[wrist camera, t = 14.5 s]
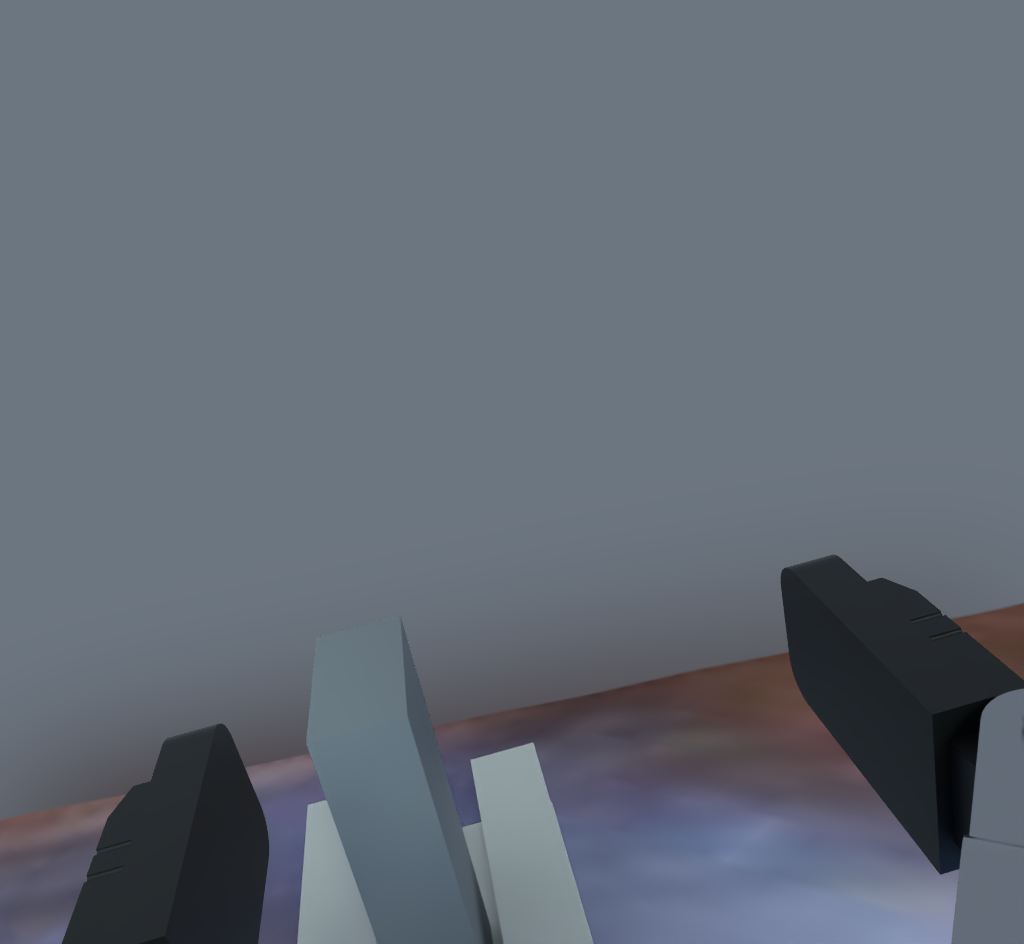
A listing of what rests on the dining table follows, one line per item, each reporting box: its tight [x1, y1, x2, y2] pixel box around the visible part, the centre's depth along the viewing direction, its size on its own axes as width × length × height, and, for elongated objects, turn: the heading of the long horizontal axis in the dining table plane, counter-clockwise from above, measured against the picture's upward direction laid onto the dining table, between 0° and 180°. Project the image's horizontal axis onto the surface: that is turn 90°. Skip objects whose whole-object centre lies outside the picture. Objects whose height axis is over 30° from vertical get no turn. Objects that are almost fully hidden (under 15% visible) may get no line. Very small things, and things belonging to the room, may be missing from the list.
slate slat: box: [306, 616, 493, 944], centre depth 32 cm, size 3×6×15 cm, turn 9°
